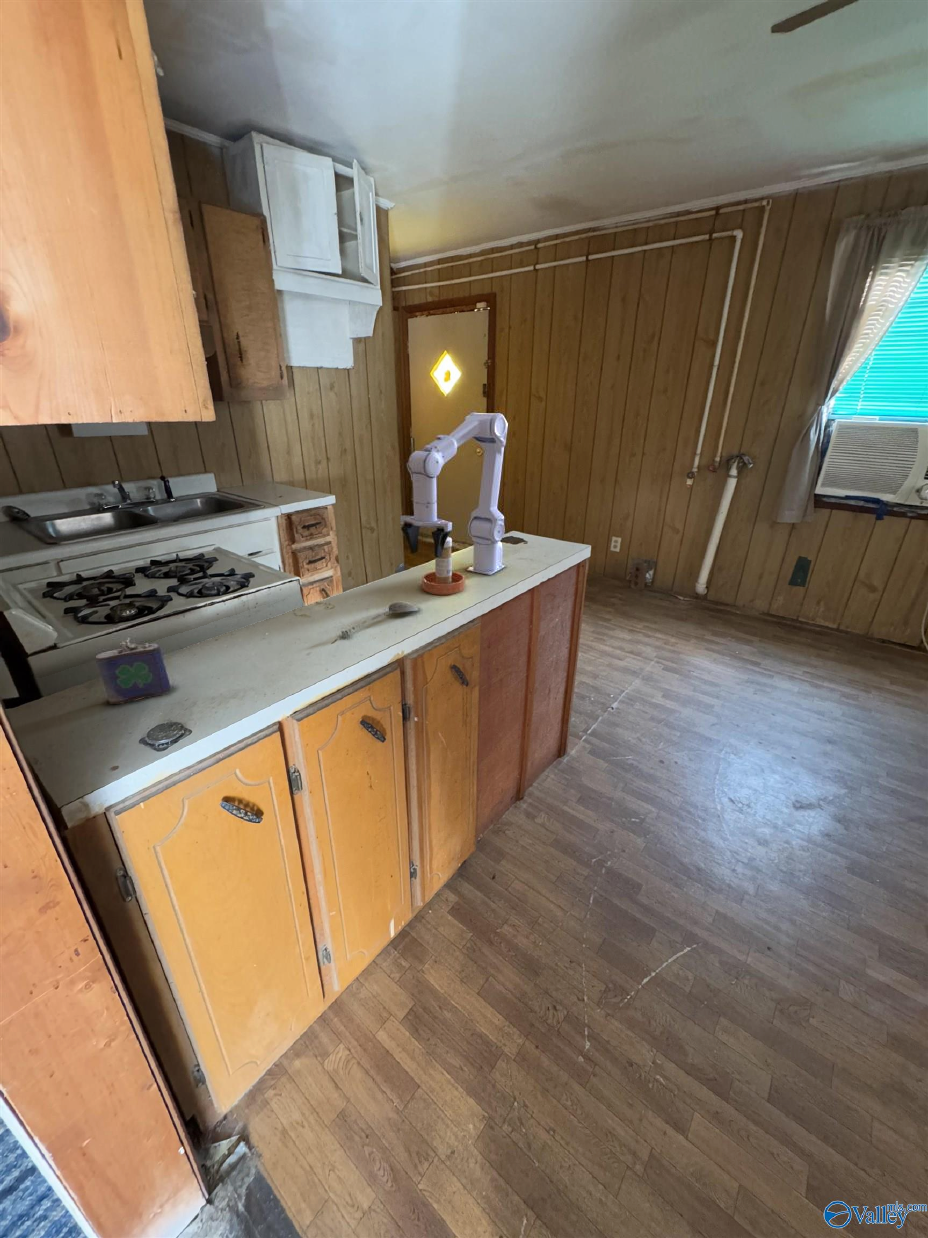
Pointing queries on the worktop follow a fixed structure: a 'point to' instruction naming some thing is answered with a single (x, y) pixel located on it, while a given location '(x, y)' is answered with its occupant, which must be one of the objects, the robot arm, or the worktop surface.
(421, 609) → the worktop surface
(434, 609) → the worktop surface
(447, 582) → the sprinkles bottle
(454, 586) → the terracotta plant saucer
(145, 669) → the flask
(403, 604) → the soupspoon
